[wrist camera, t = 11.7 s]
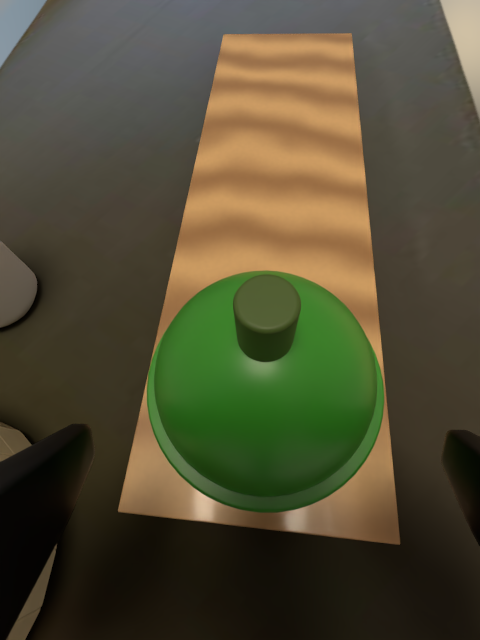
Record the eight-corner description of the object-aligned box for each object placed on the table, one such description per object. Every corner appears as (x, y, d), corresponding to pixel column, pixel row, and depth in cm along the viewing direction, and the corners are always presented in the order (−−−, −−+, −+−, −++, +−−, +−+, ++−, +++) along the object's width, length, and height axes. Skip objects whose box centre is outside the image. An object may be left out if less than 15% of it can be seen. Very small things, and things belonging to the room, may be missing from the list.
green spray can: (333, 494, 15) (570, 516, 4) (200, 504, 15) (25, 557, 4) (311, 366, 17) (408, 149, 6) (198, 376, 17) (92, 177, 6)
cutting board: (388, 540, 15) (401, 545, 14) (128, 510, 16) (116, 511, 15) (347, 51, 33) (351, 33, 31) (224, 52, 34) (223, 34, 32)
